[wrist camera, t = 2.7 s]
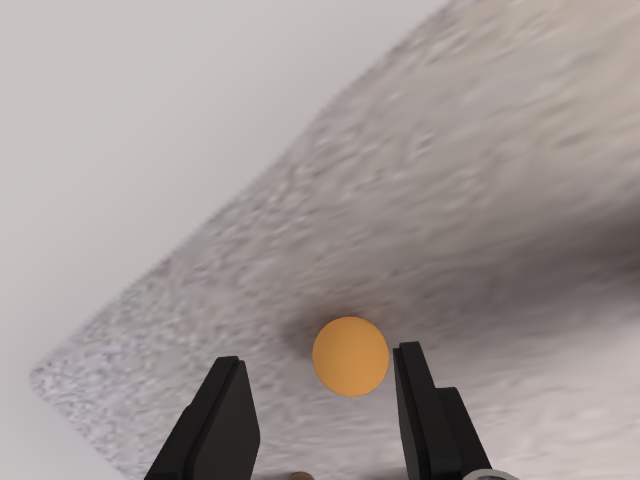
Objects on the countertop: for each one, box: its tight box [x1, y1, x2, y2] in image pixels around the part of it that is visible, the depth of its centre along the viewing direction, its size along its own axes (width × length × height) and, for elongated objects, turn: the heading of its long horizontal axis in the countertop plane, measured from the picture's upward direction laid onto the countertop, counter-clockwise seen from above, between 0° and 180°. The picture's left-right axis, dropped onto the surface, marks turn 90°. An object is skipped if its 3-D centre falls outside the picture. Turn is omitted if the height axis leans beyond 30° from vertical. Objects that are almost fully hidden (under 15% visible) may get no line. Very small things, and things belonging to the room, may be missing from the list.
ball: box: [312, 317, 389, 397], centre depth 29 cm, size 6×6×6 cm
